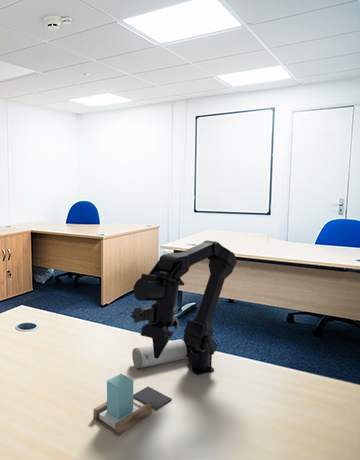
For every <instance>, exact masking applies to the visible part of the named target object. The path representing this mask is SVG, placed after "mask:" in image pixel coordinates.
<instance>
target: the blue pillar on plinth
mask: <svg viewBox="0 0 360 460" xmlns="http://www.w3.org/2000/svg"><path fill="white" fill-rule="evenodd" d="M133 395H134V379H133V378H131V377H128V376H127V375H125V374H123V373H120V374H117V375H116V376H113V377H112V378H109V379H107V380H106V402H107V410H105V411H103V412H101V413H100V414H99V419H101V420H102V421H104V422H105V423H107V424H108V425H109V426H111V427H112V428H114V429H115V423H117V422H119V421H120V420H122V419H123V418H125V417H127V416H128V415H130V414H131V413H133V412H135V411H136V410H138V409H140V408H138V407H137V406H135V405H133V402H134V397H133Z"/></svg>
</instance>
